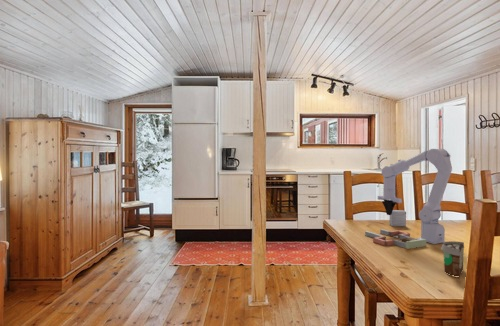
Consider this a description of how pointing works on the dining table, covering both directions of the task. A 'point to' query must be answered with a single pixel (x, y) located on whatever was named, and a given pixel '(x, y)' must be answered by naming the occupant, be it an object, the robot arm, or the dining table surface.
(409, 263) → the dining table surface
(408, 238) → the walnut block
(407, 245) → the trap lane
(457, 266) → the food container
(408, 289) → the dining table surface
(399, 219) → the medicine box
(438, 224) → the robot arm
